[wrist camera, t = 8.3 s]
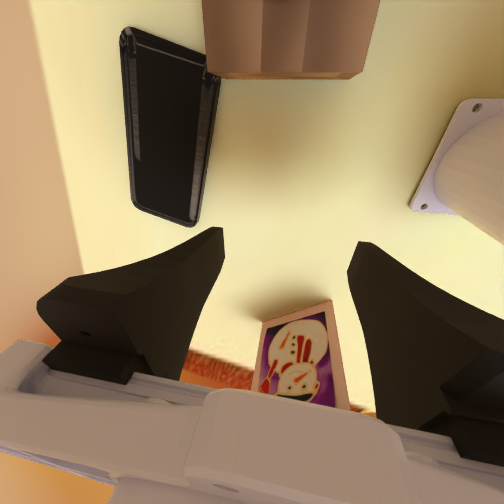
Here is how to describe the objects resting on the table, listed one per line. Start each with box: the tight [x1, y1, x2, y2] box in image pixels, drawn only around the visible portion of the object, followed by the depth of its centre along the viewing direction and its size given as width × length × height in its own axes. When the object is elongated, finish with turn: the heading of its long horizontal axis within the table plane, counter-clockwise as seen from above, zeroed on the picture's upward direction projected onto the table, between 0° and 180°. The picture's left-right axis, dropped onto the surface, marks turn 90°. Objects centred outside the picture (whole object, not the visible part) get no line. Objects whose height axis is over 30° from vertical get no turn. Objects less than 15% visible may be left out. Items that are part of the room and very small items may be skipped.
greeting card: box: [251, 300, 351, 411], centre depth 24 cm, size 11×7×15 cm, turn 128°
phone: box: [119, 27, 221, 227], centre depth 19 cm, size 8×1×15 cm
